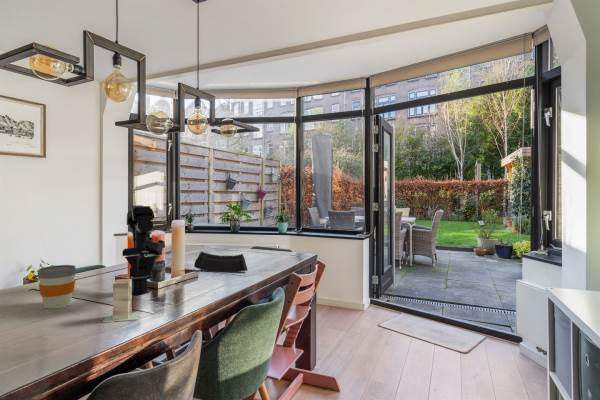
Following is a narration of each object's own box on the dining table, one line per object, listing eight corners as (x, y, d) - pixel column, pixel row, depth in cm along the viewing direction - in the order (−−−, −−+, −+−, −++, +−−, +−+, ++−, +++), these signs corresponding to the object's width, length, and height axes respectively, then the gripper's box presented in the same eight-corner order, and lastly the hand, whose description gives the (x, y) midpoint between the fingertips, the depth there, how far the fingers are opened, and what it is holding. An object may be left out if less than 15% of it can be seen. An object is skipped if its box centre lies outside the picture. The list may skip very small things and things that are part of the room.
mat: (108, 315, 129) (108, 314, 129) (141, 312, 132) (141, 311, 132) (102, 322, 121) (102, 321, 121) (136, 320, 124) (136, 319, 124)
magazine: (251, 256, 202) (203, 239, 206) (250, 257, 199) (201, 240, 202) (243, 284, 203) (195, 267, 207) (241, 286, 200) (192, 268, 203)
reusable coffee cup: (33, 312, 132) (33, 272, 131) (43, 302, 143) (42, 266, 143) (73, 308, 137) (72, 269, 136) (78, 299, 148) (78, 263, 148)
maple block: (116, 314, 129) (116, 279, 128) (131, 313, 130) (131, 279, 130) (113, 319, 124) (112, 283, 123) (128, 318, 125) (128, 282, 125)
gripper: (146, 231, 136) (147, 272, 133) (172, 234, 154) (173, 270, 151) (121, 235, 138) (121, 275, 135) (149, 237, 156) (150, 273, 153)
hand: (143, 273), depth 144 cm, fingers open, 9 cm apart
